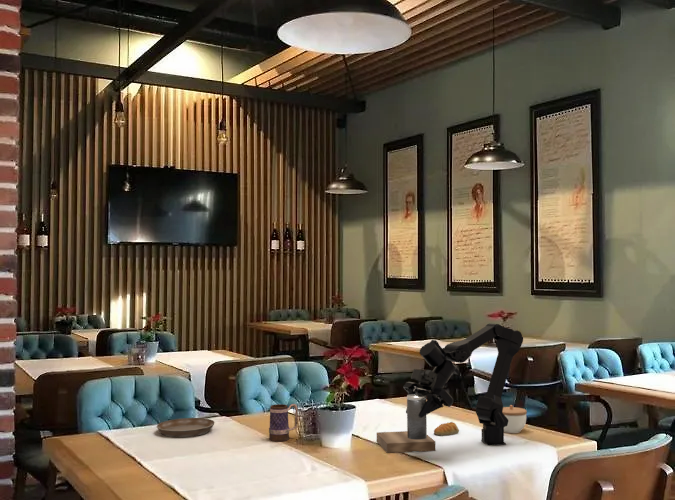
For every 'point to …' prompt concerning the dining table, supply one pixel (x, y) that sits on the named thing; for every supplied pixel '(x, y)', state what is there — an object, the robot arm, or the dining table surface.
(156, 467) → the dining table surface
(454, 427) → the pastry
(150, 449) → the dining table surface
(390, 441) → the block
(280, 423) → the mug
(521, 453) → the dining table surface
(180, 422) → the plant saucer
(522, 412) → the lidded jar
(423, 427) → the canister
